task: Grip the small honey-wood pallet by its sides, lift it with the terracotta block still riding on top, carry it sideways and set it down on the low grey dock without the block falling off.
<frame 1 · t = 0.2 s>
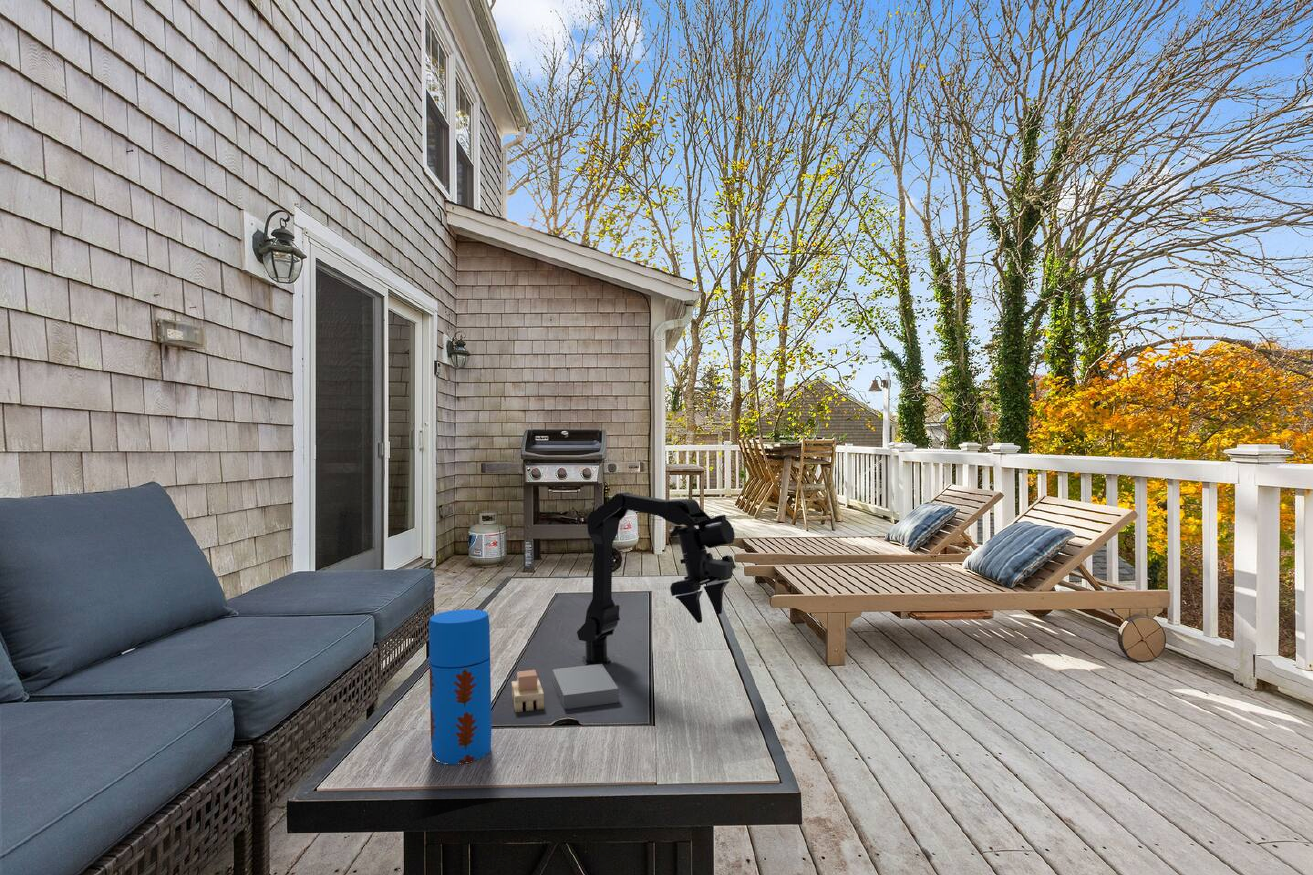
hand: (710, 618, 158), 15 cm above the table, tool pointing down, fingers open, 9 cm apart
dock: (584, 691, 155), on the table
thermos: (461, 752, 125), on the table
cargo: (527, 686, 149), point 3 cm above the table
pallet: (527, 702, 149), on the table
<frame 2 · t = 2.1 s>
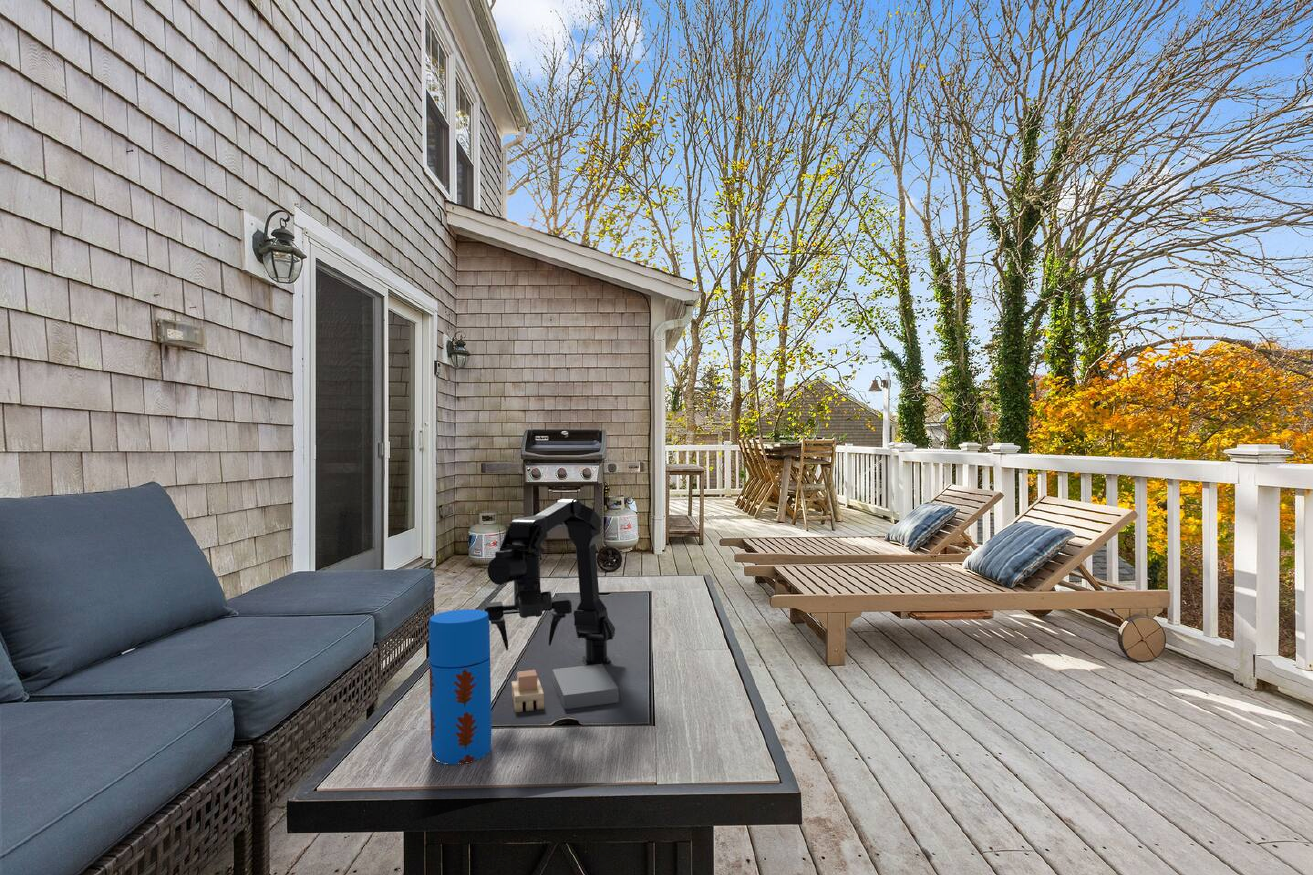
hand: (528, 647, 149), 12 cm above the table, tool pointing down, fingers open, 9 cm apart
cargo: (527, 687, 149), point 3 cm above the table, touching pallet
pallet: (527, 703, 149), on the table, touching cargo
everything else where it was.
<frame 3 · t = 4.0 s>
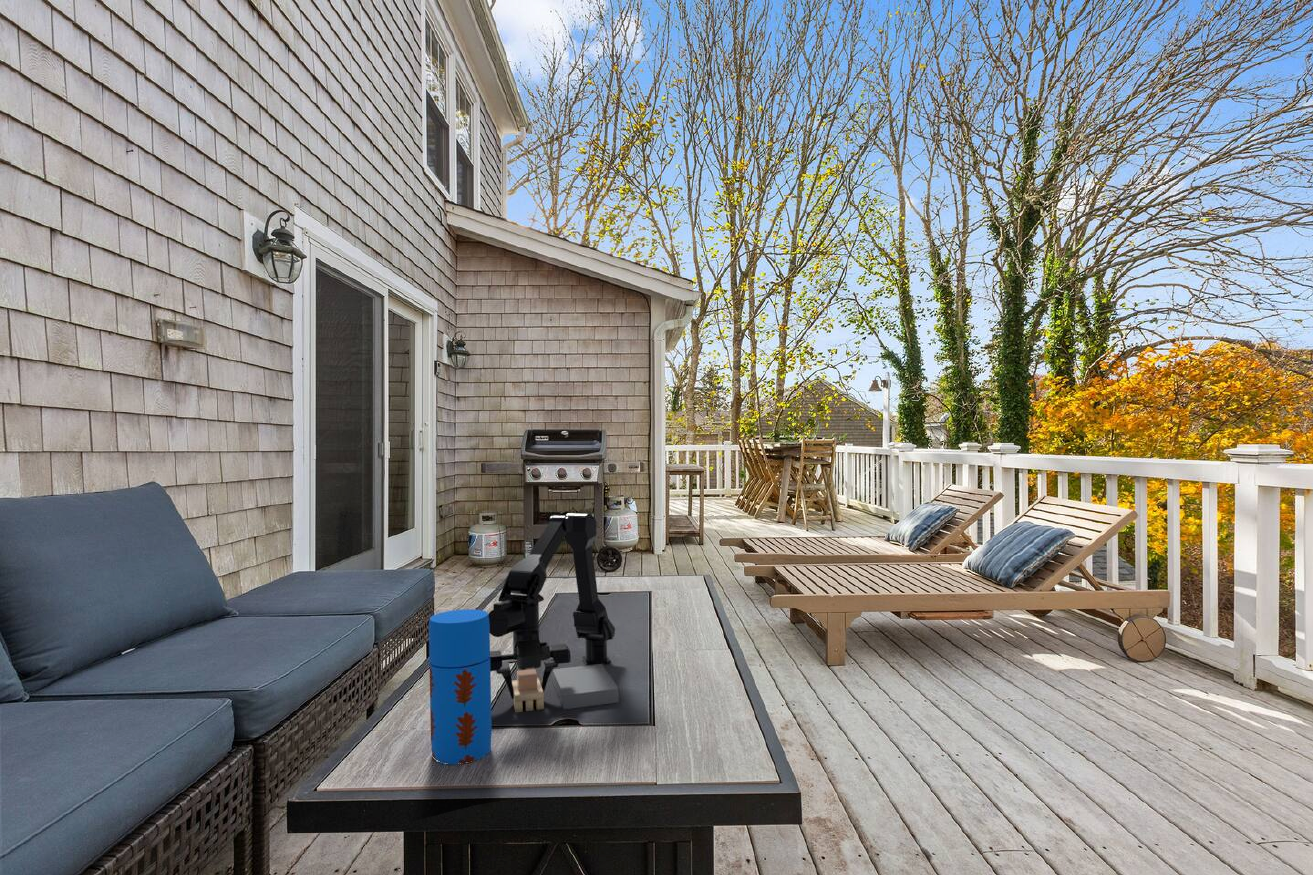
hand: (527, 696, 149), 1 cm above the table, tool pointing down, fingers closed on pallet, 6 cm apart
pallet: (527, 702, 149), on the table, touching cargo, gripper
everything else where it was.
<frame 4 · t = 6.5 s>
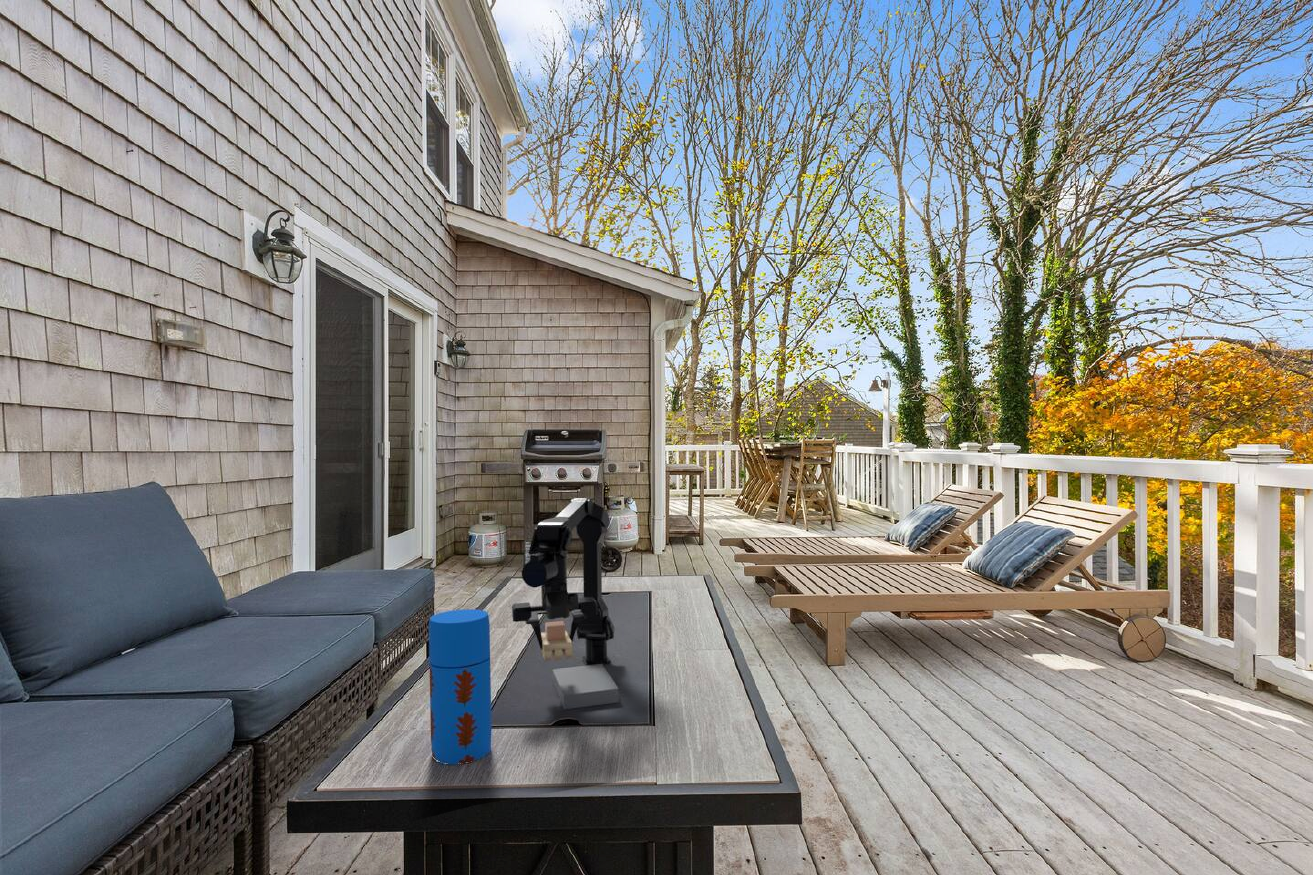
hand: (555, 647, 152), 11 cm above the table, tool pointing down, fingers closed on pallet, 6 cm apart
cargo: (555, 637, 152), point 13 cm above the table, touching pallet
pallet: (555, 652, 152), point 10 cm above the table, touching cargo, gripper
everything else where it was.
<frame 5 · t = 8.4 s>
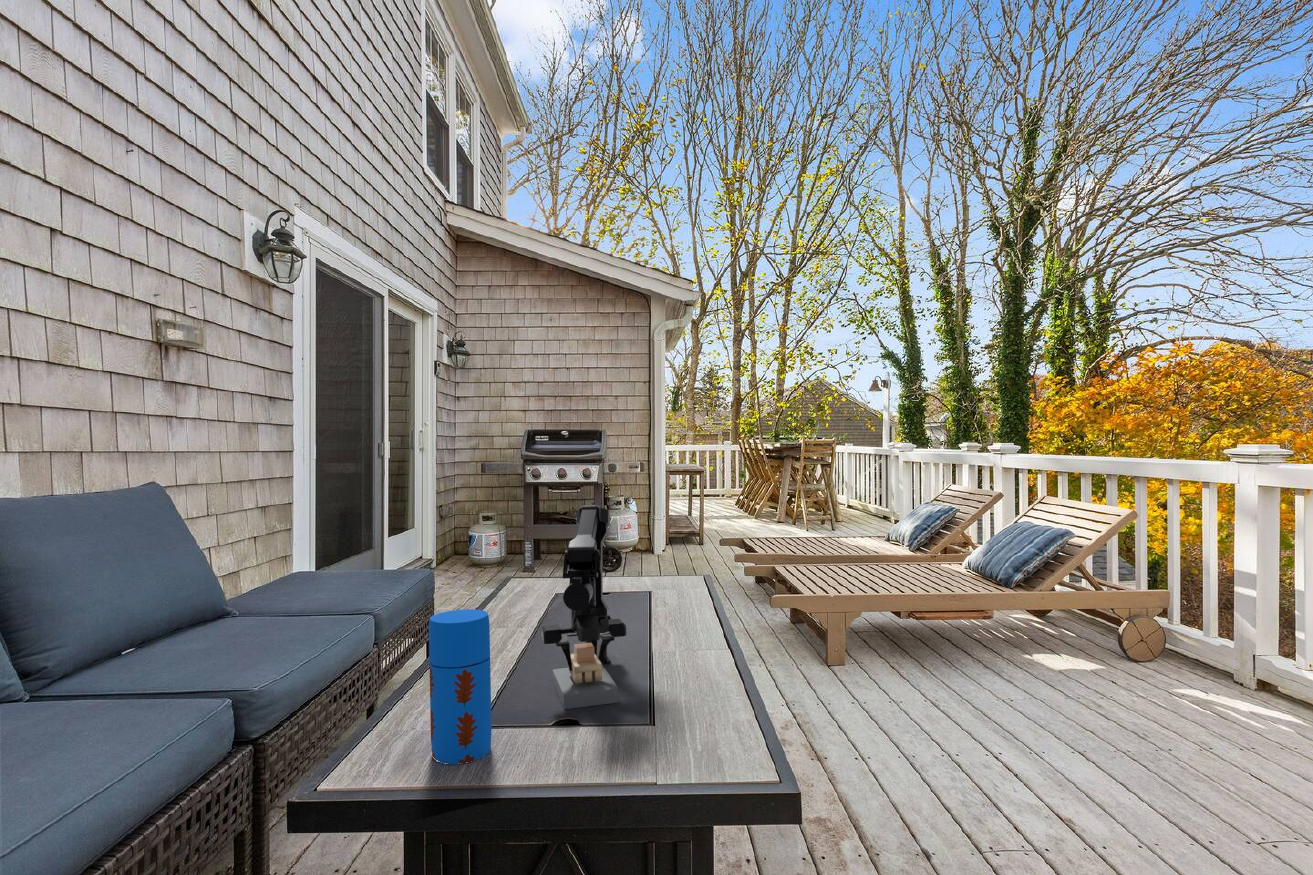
hand: (584, 668, 154), 5 cm above the table, tool pointing down, fingers closed on pallet, 6 cm apart
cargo: (584, 658, 154), point 8 cm above the table, touching pallet
pallet: (584, 674, 154), point 4 cm above the table, touching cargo, gripper
everything else where it was.
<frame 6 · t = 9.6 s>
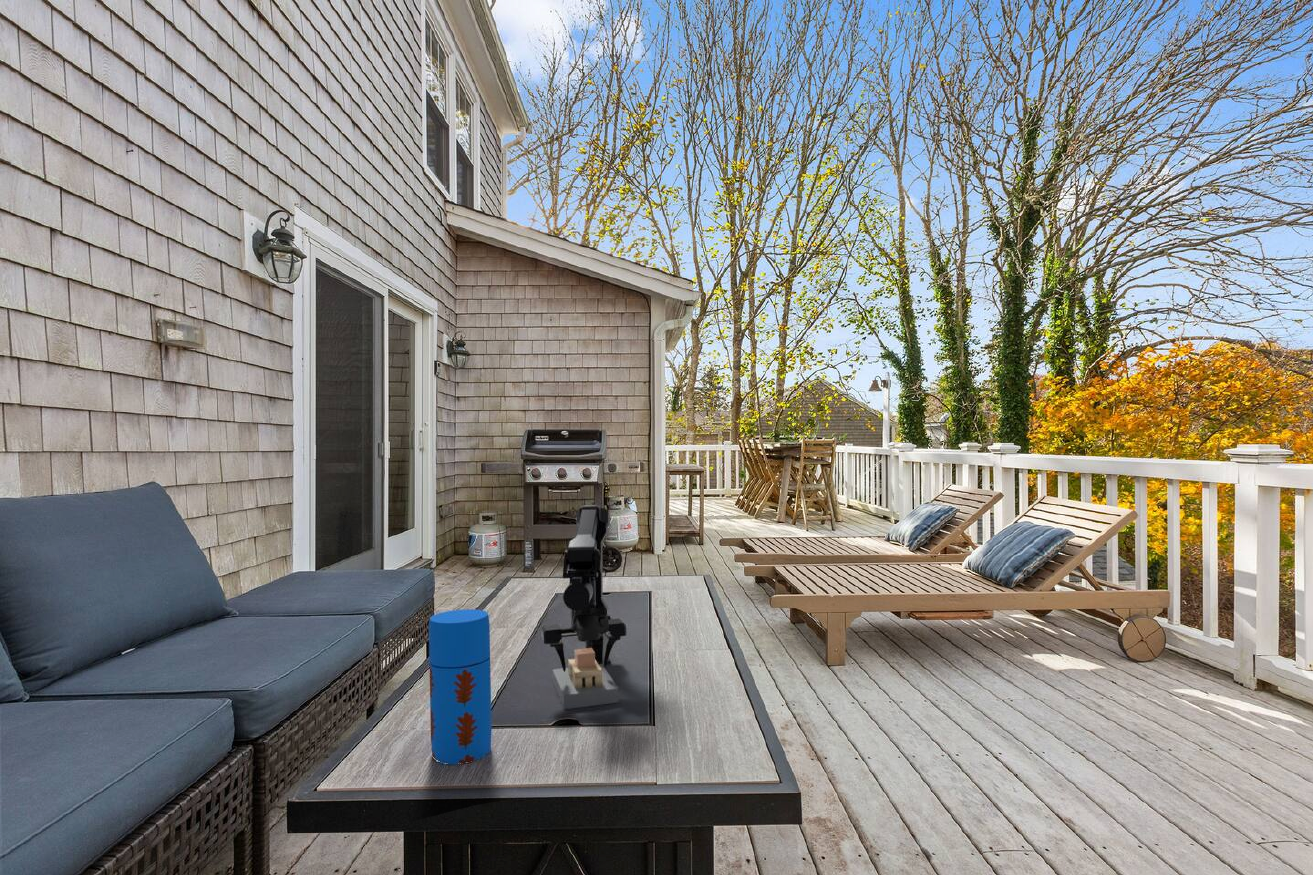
hand: (584, 668, 154), 5 cm above the table, tool pointing down, fingers open, 9 cm apart
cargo: (584, 664, 154), point 6 cm above the table, touching pallet
pallet: (584, 679, 154), point 3 cm above the table, touching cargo, dock
everything else where it was.
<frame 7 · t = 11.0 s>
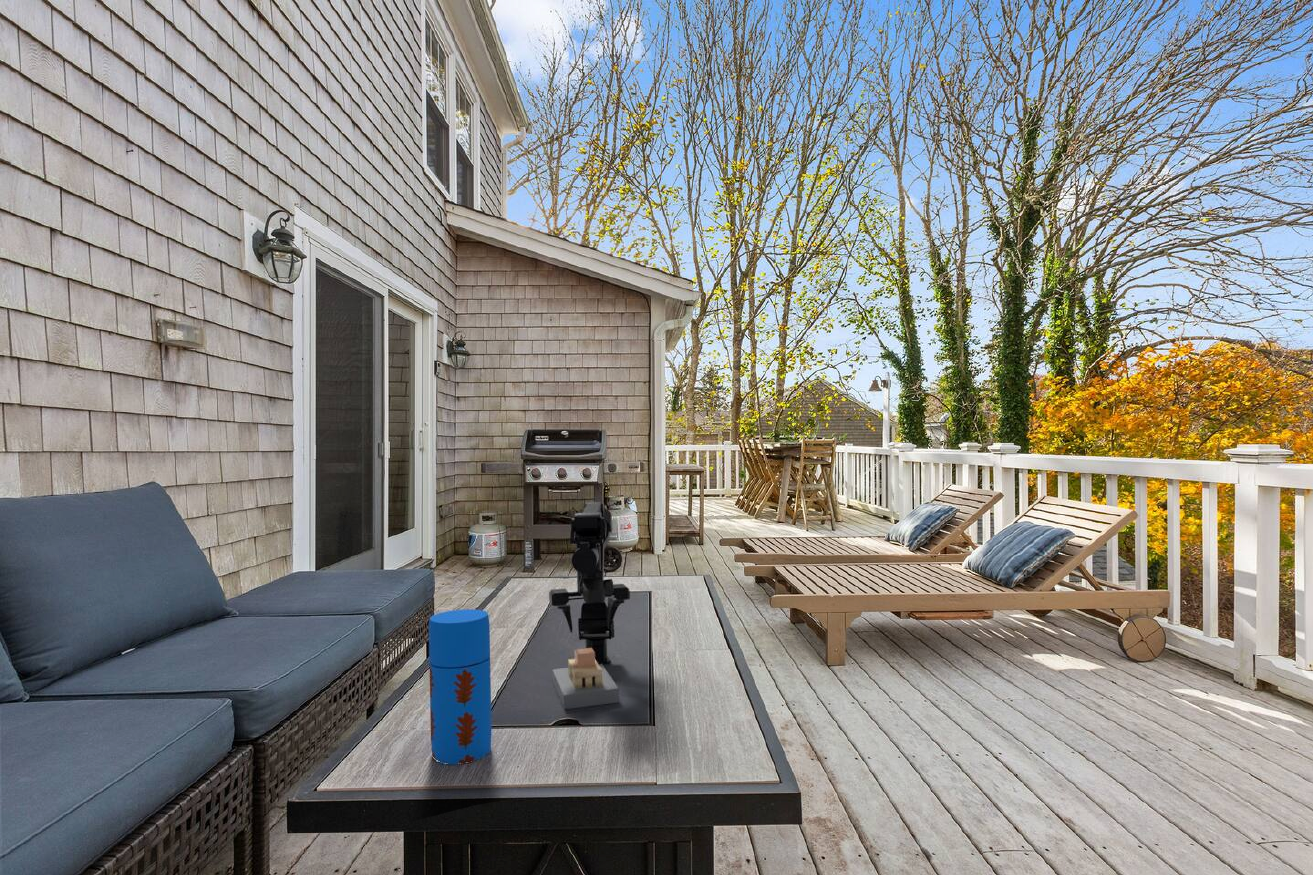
hand: (590, 630, 163), 12 cm above the table, tool pointing down, fingers open, 9 cm apart
nothing on the table moved.
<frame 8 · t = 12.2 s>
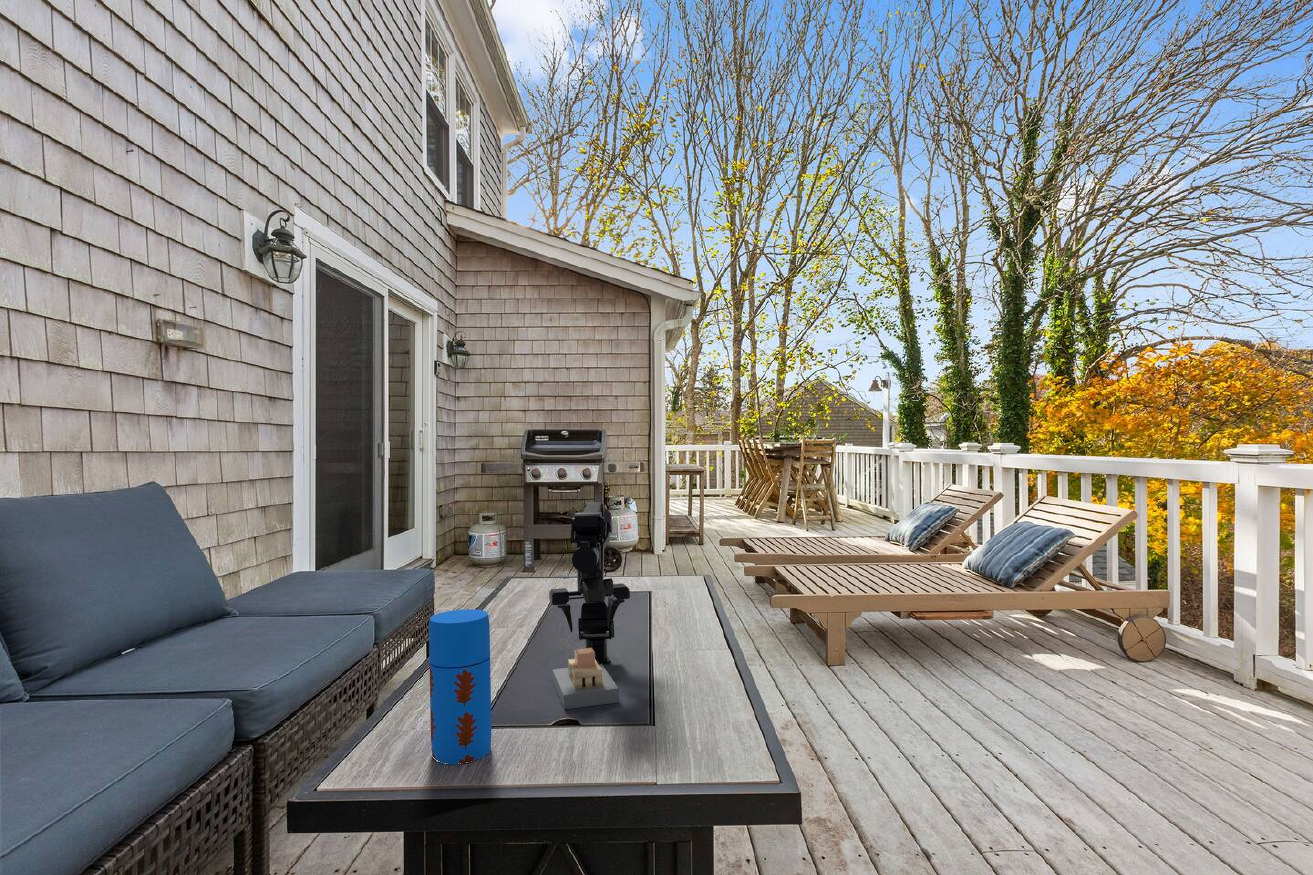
hand: (590, 629, 163), 12 cm above the table, tool pointing down, fingers open, 9 cm apart
nothing on the table moved.
at the end: pallet inside the target area (0.5 cm from its centre), point 3.0 cm above the table; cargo 0.1 cm off-centre on the pallet, point 3.5 cm above the pallet's base; the gripper is holding nothing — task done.
